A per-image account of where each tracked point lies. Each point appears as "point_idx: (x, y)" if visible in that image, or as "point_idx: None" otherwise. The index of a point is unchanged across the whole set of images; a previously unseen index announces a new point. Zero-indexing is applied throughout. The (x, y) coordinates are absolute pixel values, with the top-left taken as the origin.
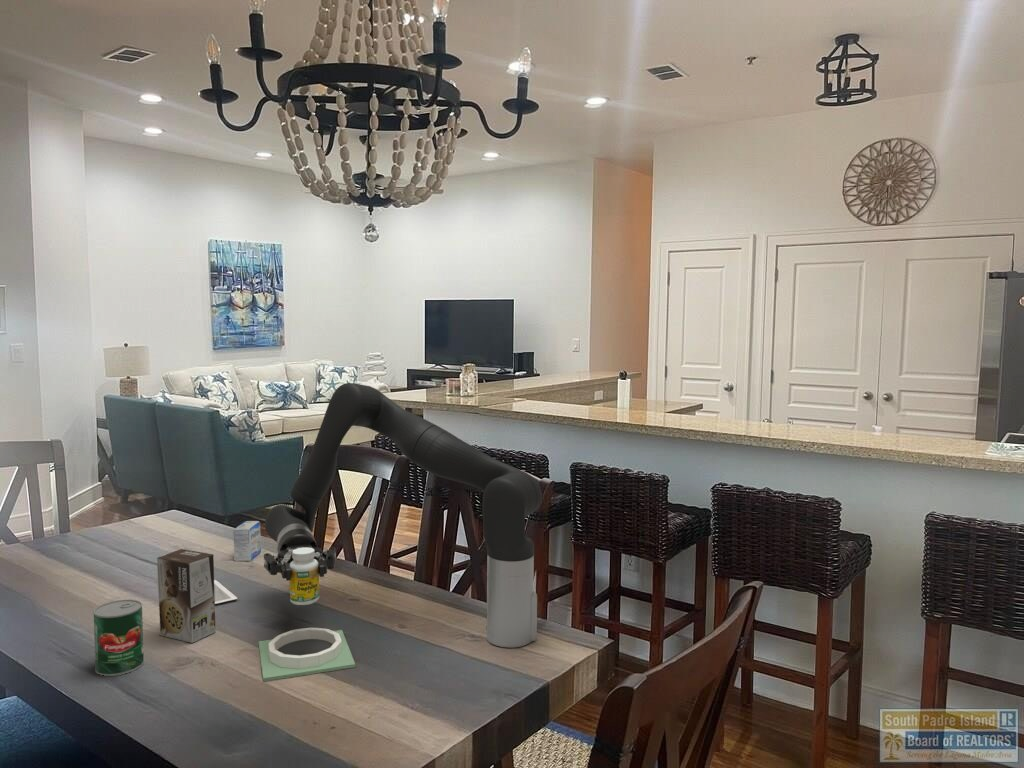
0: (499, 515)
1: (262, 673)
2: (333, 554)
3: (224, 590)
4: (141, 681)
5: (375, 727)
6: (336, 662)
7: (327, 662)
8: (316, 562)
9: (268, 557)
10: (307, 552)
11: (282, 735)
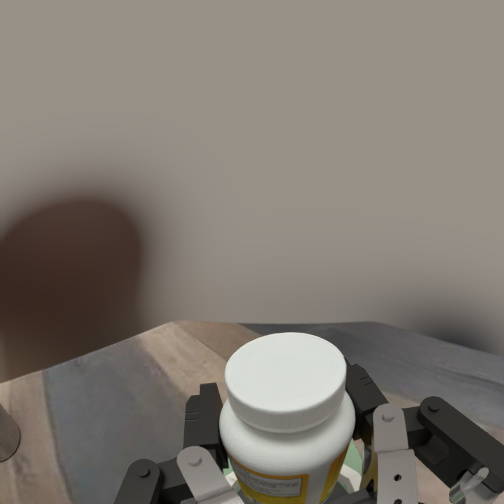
0: None
1: (355, 449)
2: (125, 483)
3: None
4: (500, 402)
5: (202, 349)
6: (227, 471)
7: None
8: (226, 402)
9: (484, 440)
10: (260, 345)
11: None
